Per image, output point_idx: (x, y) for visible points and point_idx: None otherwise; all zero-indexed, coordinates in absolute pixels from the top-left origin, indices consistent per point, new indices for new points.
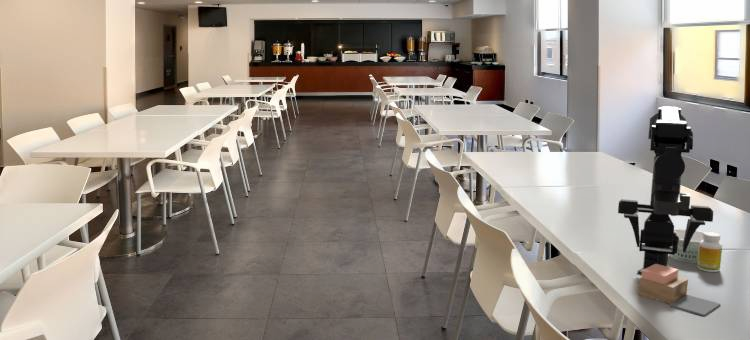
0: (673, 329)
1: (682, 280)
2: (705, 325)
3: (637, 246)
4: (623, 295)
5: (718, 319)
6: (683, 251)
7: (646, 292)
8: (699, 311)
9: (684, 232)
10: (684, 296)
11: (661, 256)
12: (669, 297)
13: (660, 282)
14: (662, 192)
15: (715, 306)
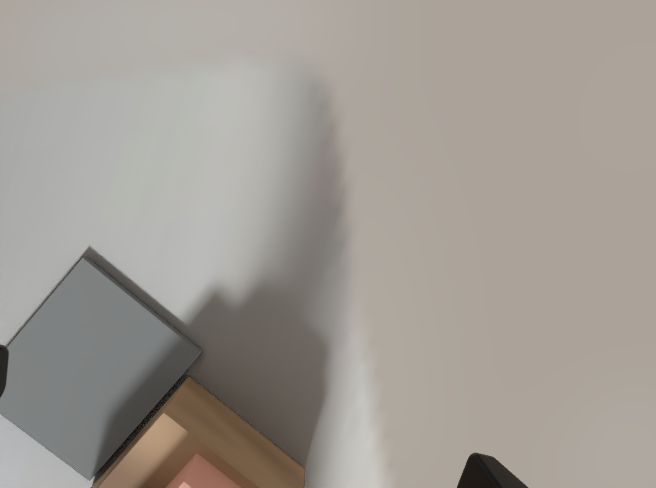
0: (261, 100)
1: None
2: (110, 159)
3: (491, 456)
4: (371, 448)
5: (33, 232)
6: (2, 347)
7: (275, 457)
8: (92, 290)
9: None
10: (107, 457)
11: None
12: (190, 395)
13: (212, 467)
14: None
15: None
